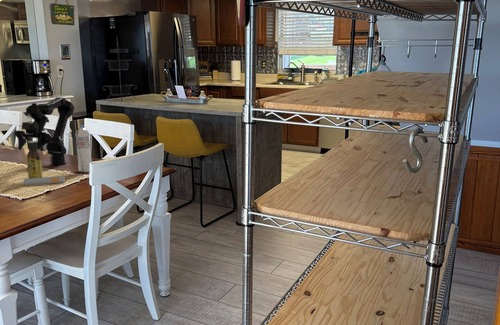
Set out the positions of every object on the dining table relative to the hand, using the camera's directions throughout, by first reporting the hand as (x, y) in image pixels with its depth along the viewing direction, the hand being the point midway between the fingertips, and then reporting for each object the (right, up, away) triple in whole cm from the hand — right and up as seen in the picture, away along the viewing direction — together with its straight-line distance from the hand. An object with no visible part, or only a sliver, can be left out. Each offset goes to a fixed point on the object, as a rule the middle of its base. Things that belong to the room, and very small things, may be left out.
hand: (27, 150), depth 224 cm
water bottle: (+24, -11, +15) cm, 30 cm away
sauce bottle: (+6, -15, -4) cm, 17 cm away
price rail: (+13, -17, -9) cm, 23 cm away
